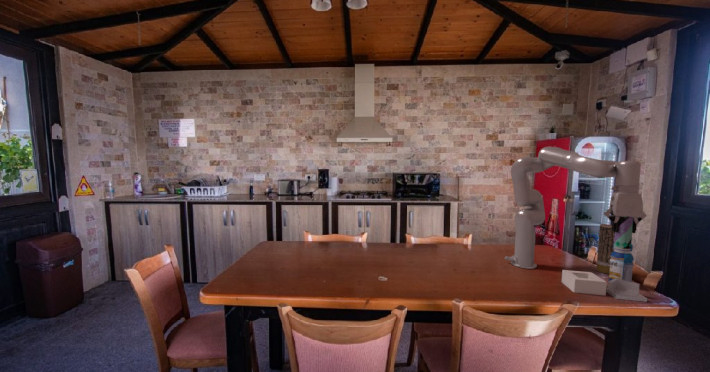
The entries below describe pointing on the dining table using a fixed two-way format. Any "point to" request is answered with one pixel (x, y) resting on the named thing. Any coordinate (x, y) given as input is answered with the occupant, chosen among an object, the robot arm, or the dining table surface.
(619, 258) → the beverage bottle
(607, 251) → the wooden log
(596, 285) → the bore block
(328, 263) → the dining table surface
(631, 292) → the v-block
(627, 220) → the spray can
